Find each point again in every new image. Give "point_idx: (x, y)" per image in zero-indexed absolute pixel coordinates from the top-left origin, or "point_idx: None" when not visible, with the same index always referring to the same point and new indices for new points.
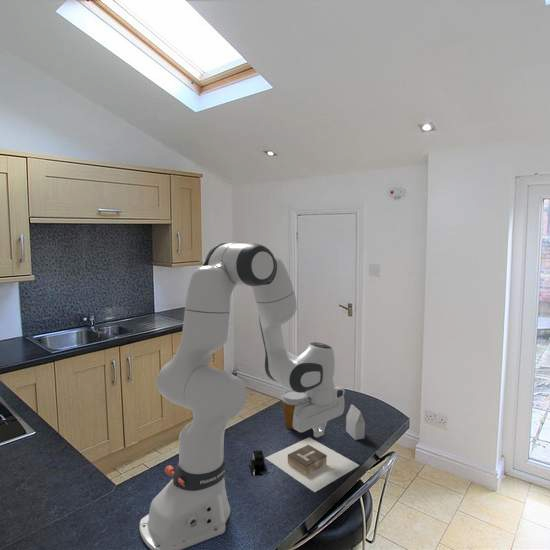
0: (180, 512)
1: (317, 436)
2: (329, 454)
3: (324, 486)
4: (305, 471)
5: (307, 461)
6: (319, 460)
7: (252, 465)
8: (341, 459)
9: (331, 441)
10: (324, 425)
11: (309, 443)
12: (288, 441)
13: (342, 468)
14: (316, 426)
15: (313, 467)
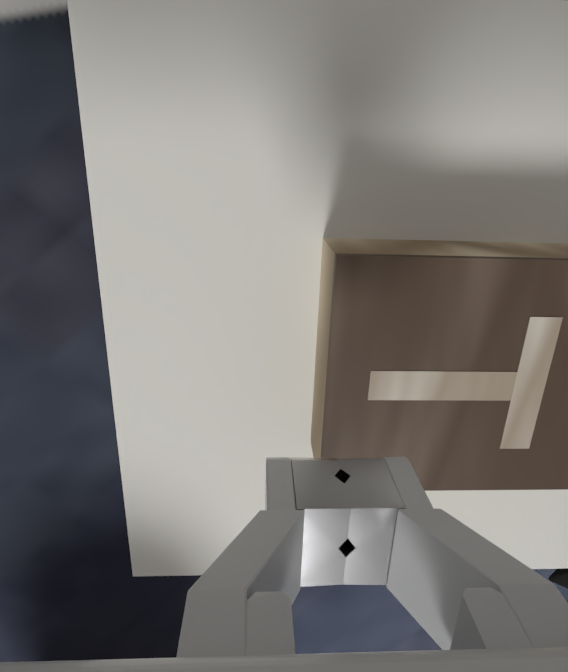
0: None
1: (411, 466)
2: (181, 322)
3: None
4: None
5: (566, 308)
6: (443, 254)
7: None
8: (150, 193)
9: (10, 446)
10: (257, 579)
11: (196, 521)
12: (292, 613)
13: (261, 78)
14: (565, 631)
15: (508, 248)
